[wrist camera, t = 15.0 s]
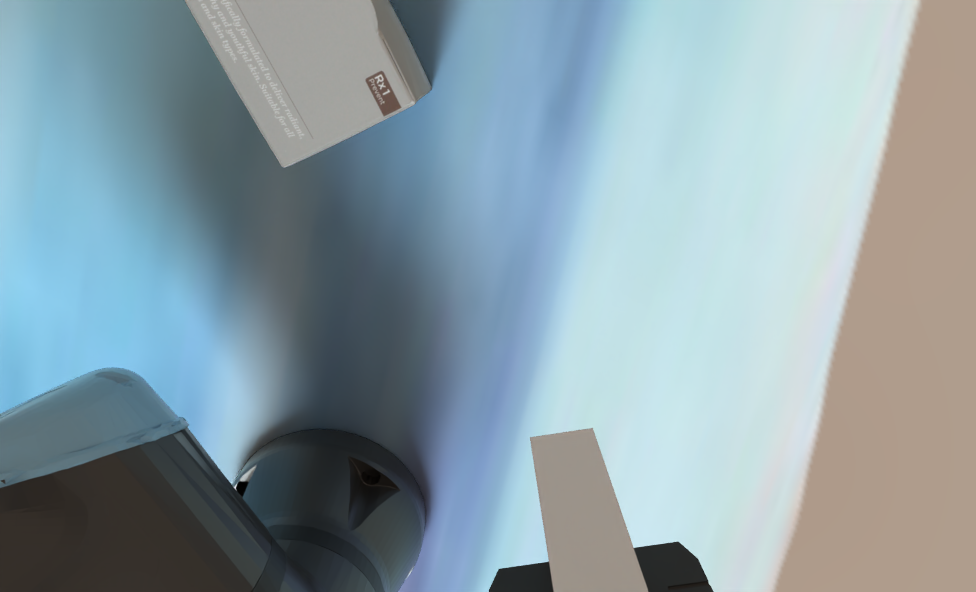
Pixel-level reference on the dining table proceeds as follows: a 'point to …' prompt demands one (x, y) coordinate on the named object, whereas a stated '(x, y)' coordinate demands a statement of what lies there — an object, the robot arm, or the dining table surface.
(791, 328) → the dining table surface
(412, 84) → the skincare box
